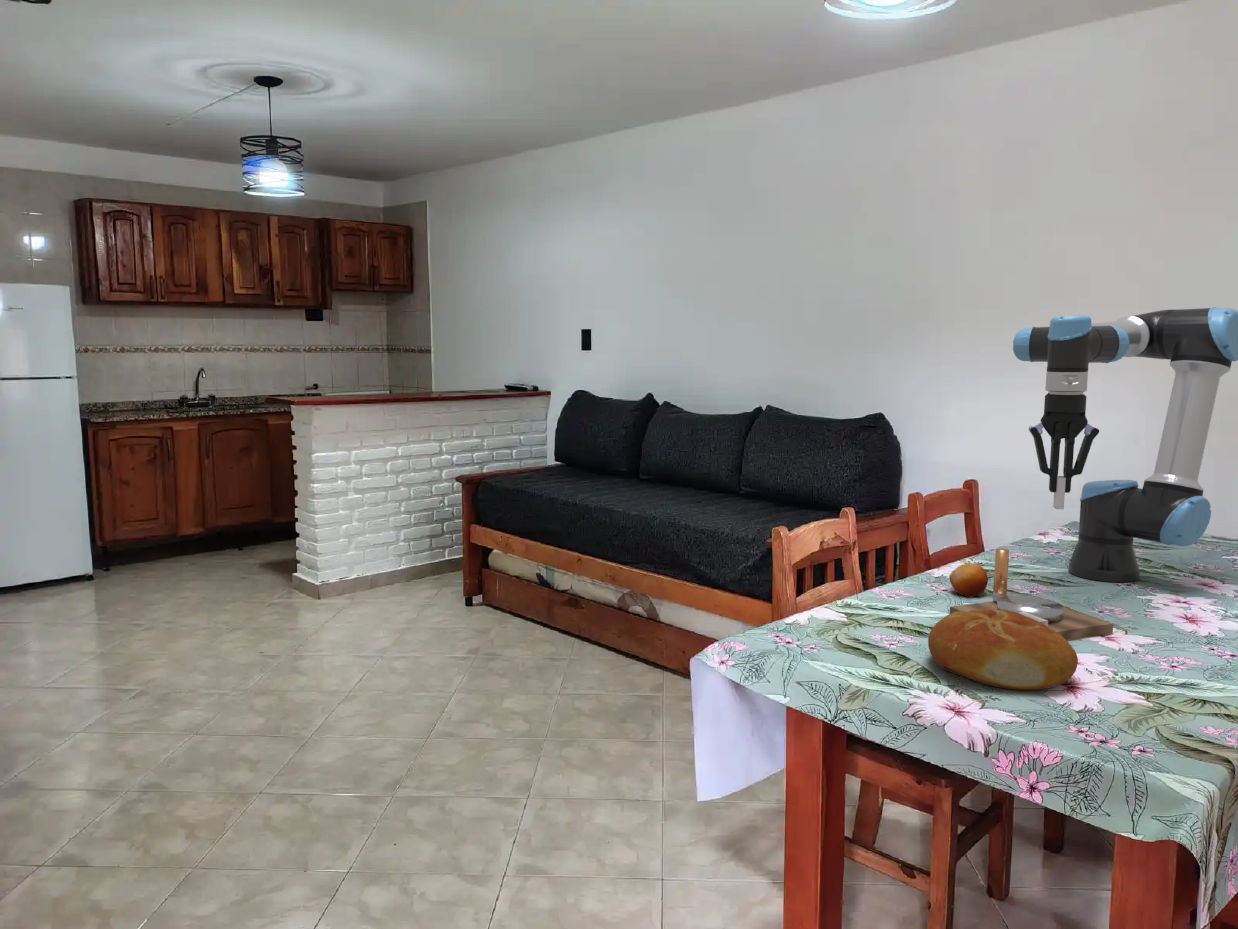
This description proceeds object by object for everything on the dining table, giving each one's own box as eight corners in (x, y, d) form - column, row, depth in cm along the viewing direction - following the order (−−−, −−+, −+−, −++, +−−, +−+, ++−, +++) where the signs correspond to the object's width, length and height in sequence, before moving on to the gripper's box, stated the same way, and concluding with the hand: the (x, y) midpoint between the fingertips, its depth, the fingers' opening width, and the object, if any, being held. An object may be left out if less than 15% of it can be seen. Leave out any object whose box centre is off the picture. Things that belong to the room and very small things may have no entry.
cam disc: (1076, 620, 172) (1080, 565, 171) (1023, 625, 169) (1027, 569, 168) (1019, 597, 188) (1022, 546, 186) (970, 601, 185) (973, 550, 183)
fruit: (1000, 593, 193) (981, 562, 193) (966, 610, 195) (948, 579, 195) (992, 584, 201) (974, 554, 201) (960, 599, 203) (942, 570, 203)
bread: (1002, 708, 137) (1005, 646, 136) (899, 659, 158) (901, 605, 157) (1104, 685, 146) (1109, 626, 145) (993, 641, 167) (996, 590, 166)
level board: (1033, 605, 190) (1034, 585, 189) (1112, 633, 171) (1114, 611, 170) (949, 616, 182) (950, 595, 182) (1022, 646, 164) (1023, 624, 163)
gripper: (1033, 393, 176) (1027, 510, 179) (1106, 394, 172) (1098, 513, 175) (1027, 391, 183) (1021, 503, 186) (1097, 392, 179) (1089, 506, 182)
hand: (1058, 508), depth 181 cm, fingers closed
